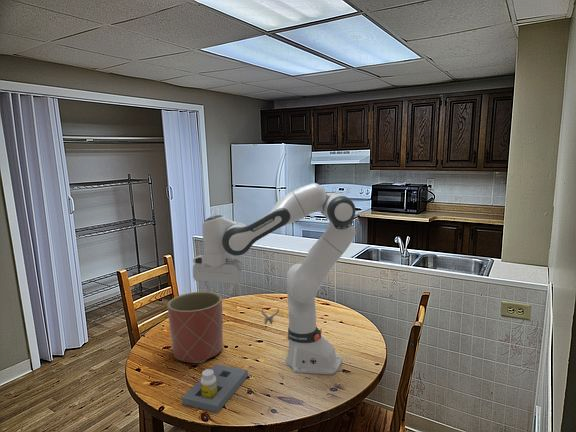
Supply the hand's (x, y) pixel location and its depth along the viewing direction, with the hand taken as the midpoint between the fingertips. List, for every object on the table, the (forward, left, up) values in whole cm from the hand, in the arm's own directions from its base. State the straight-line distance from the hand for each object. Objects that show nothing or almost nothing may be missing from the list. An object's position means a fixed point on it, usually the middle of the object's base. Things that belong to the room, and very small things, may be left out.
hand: (219, 292), depth 141 cm
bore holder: (-4, +13, -32) cm, 34 cm away
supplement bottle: (-5, +18, -32) cm, 37 cm away
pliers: (+1, -52, -32) cm, 62 cm away
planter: (+18, -8, -32) cm, 37 cm away
